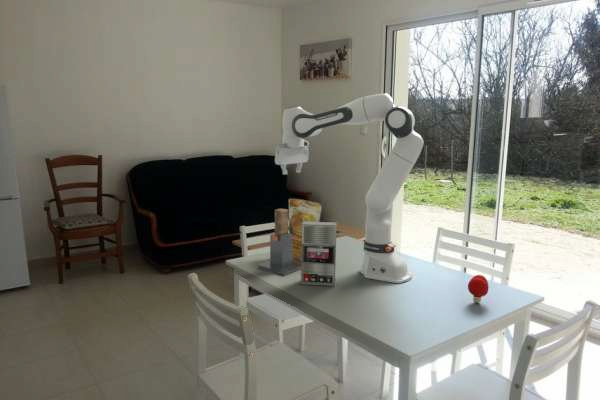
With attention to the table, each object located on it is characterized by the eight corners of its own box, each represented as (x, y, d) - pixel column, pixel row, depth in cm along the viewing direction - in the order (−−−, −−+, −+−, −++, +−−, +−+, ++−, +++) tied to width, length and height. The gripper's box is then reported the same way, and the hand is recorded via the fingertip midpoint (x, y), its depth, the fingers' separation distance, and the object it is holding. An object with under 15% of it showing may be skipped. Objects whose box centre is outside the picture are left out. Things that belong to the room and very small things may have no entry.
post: (288, 253, 206) (288, 209, 203) (281, 255, 203) (282, 211, 199) (280, 251, 209) (280, 208, 205) (274, 253, 206) (274, 209, 202)
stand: (304, 267, 208) (305, 234, 205) (285, 275, 197) (285, 240, 194) (277, 260, 217) (278, 228, 215) (257, 268, 207) (257, 234, 204)
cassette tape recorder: (300, 285, 187) (301, 224, 182) (302, 279, 193) (303, 221, 188) (334, 286, 185) (336, 226, 180) (335, 281, 191) (337, 222, 186)
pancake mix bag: (292, 252, 231) (293, 197, 226) (322, 260, 219) (323, 202, 213) (283, 255, 226) (283, 198, 221) (312, 263, 214) (314, 204, 209)
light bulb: (484, 309, 165) (486, 282, 163) (464, 304, 169) (466, 278, 167) (489, 300, 173) (491, 275, 171) (469, 296, 176) (471, 271, 175)
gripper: (282, 144, 199) (282, 176, 201) (310, 142, 215) (310, 172, 217) (271, 143, 203) (271, 175, 205) (300, 141, 219) (299, 171, 221)
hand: (291, 173), depth 211 cm, fingers open, 8 cm apart
